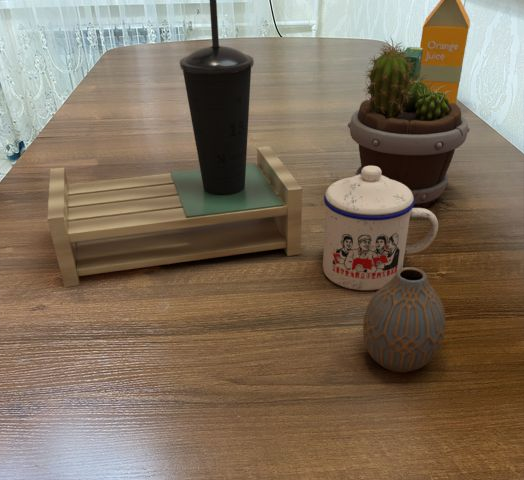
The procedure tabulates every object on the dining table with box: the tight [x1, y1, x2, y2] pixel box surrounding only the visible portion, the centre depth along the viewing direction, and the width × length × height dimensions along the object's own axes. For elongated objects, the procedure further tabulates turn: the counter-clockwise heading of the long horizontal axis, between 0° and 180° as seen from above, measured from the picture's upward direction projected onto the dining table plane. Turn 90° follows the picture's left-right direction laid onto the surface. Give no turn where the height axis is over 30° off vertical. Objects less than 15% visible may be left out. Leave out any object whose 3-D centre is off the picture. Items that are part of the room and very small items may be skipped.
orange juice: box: [419, 0, 471, 105], centre depth 108 cm, size 8×9×20 cm
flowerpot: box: [347, 36, 470, 209], centre depth 77 cm, size 14×15×20 cm
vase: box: [362, 266, 447, 373], centre depth 52 cm, size 7×7×9 cm
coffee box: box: [402, 46, 423, 81], centre depth 99 cm, size 8×3×13 cm, turn 160°
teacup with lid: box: [322, 166, 439, 291], centre depth 63 cm, size 12×9×12 cm
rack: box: [46, 145, 303, 288], centre depth 71 cm, size 14×27×8 cm, turn 104°
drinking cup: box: [178, 0, 255, 195], centre depth 65 cm, size 8×8×20 cm
